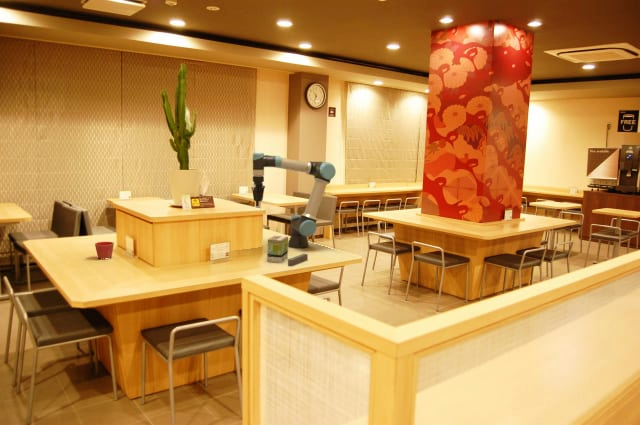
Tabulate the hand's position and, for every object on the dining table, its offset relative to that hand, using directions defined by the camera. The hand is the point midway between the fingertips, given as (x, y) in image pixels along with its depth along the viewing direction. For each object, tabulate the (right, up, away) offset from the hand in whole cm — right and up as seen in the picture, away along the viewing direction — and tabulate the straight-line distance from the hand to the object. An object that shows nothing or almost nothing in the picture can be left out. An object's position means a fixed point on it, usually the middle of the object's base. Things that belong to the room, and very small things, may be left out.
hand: (258, 210), depth 341 cm
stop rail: (+28, -33, -21) cm, 48 cm away
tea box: (+14, -32, -14) cm, 38 cm away
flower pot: (-95, -30, -21) cm, 102 cm away
